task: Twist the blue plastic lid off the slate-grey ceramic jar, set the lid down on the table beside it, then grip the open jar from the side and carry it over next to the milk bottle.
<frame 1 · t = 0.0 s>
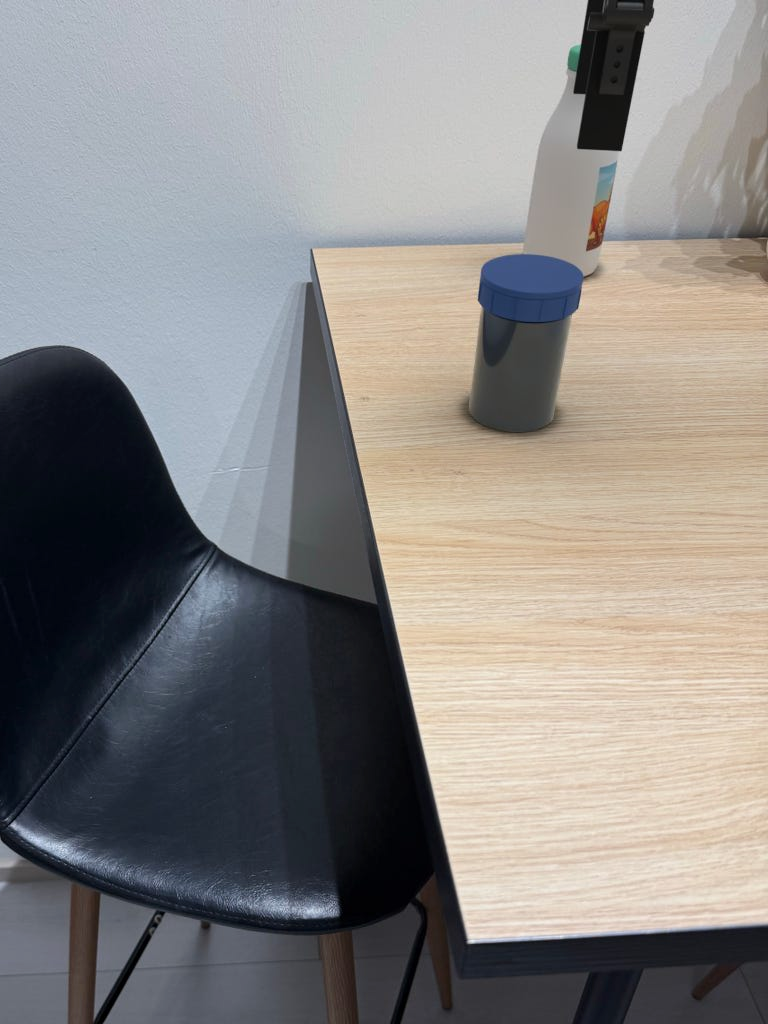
hand: (595, 119, 70), 22 cm above the table, tool pointing down, fingers open, 13 cm apart
jar: (510, 411, 84), on the table
lid: (531, 279, 77), point 11 cm above the table, screwed on, not yet turned
milk bottle: (558, 268, 107), on the table
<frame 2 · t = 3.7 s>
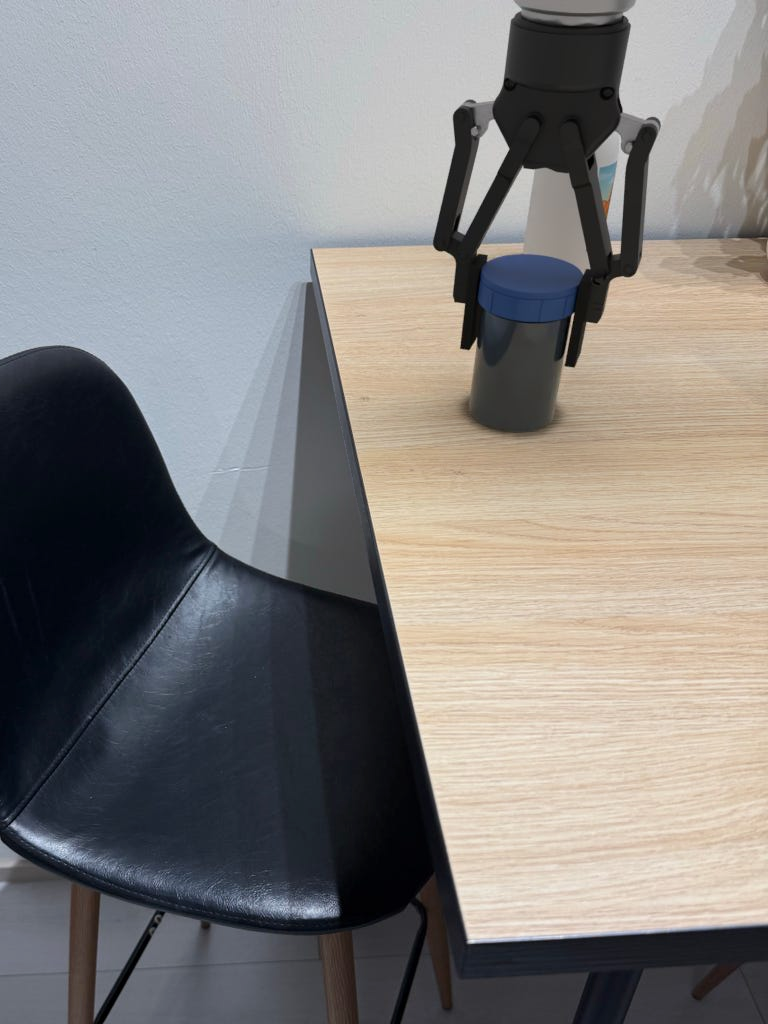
hand: (520, 350, 81), 5 cm above the table, tool pointing down, fingers closed on lid, 7 cm apart
lid: (531, 279, 77), point 11 cm above the table, screwed on, not yet turned, touching gripper
everything else where it was.
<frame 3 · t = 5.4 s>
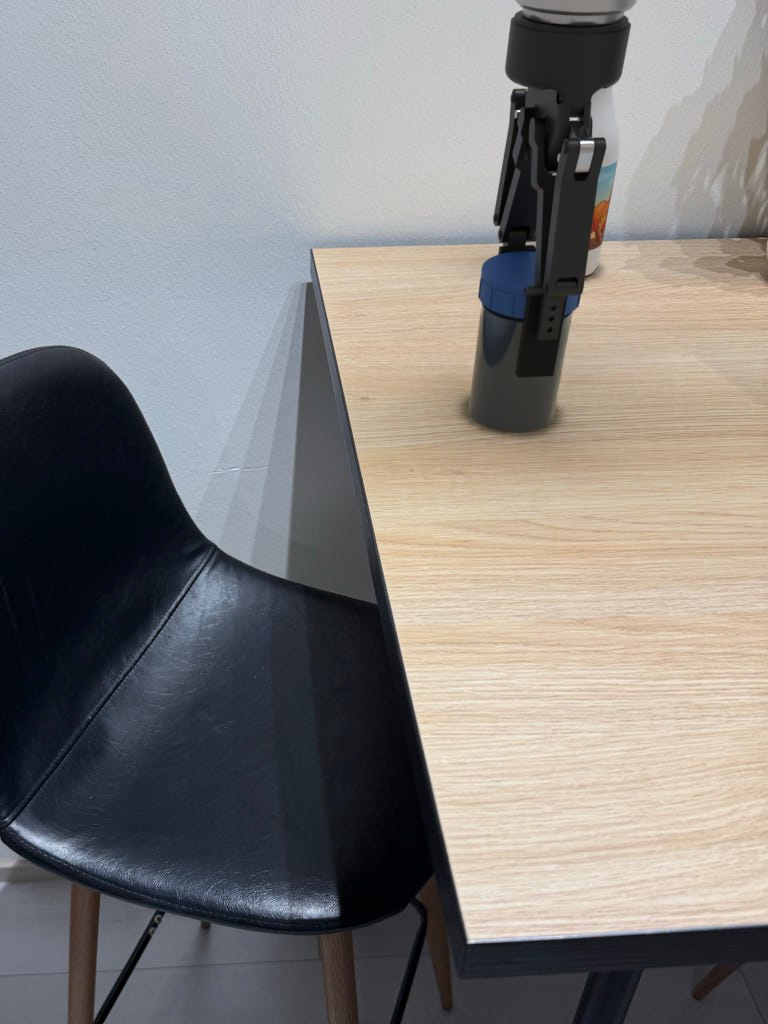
hand: (519, 350, 81), 5 cm above the table, tool pointing down, fingers closed on lid, 7 cm apart
lid: (531, 276, 77), point 11 cm above the table, off its thread, touching gripper
everything else where it was.
when the fingers open (0 cm above the table, at t = 14.0 s): lid drops 4 cm, point 2 cm above the table.
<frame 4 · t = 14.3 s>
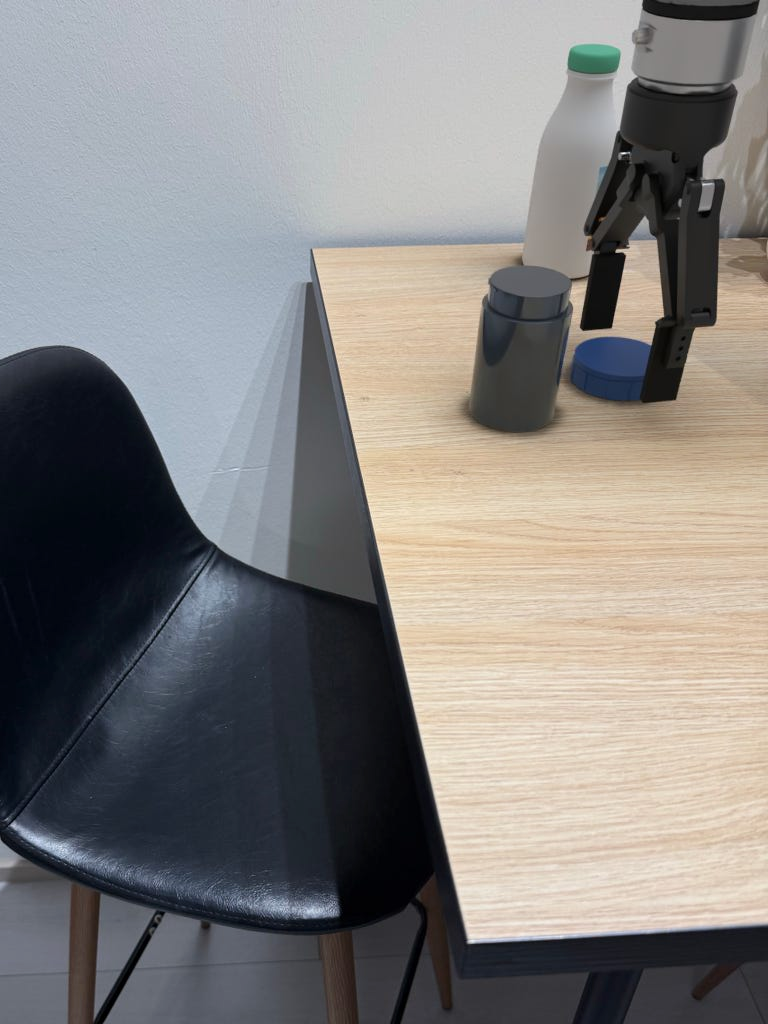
hand: (624, 362, 87), 2 cm above the table, tool pointing down, fingers open, 13 cm apart
lid: (619, 361, 87), point 2 cm above the table, off its thread
everything else where it was.
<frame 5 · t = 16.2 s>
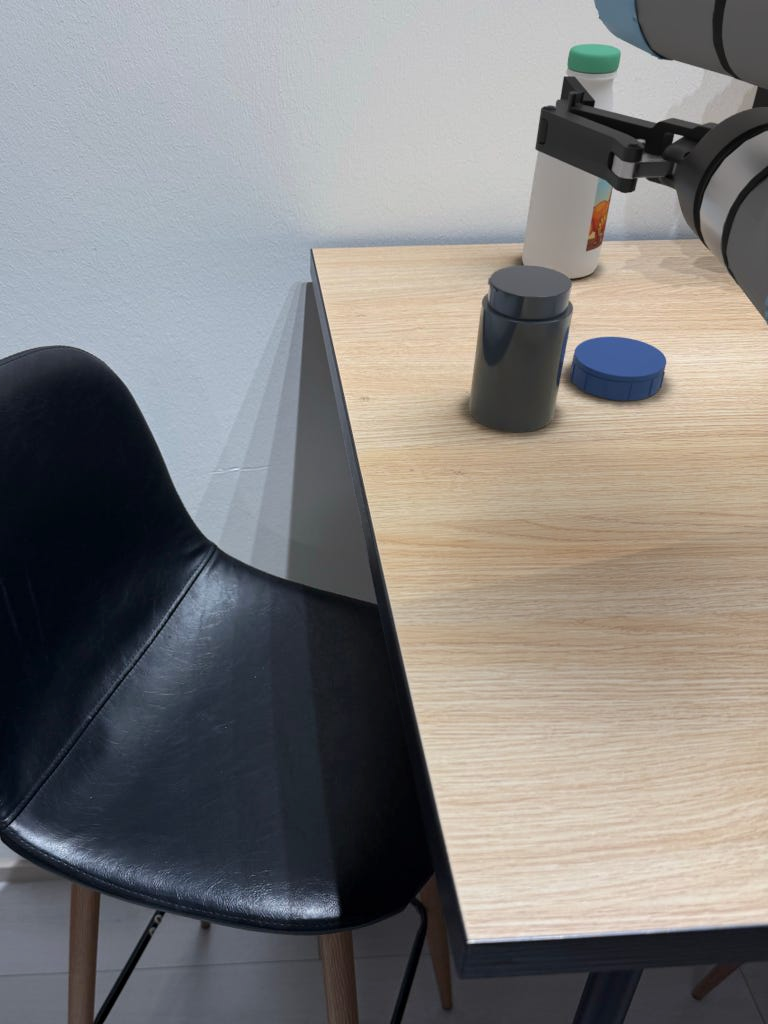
hand: (662, 97, 73), 22 cm above the table, tool horizontal, fingers open, 13 cm apart
nothing on the table moved.
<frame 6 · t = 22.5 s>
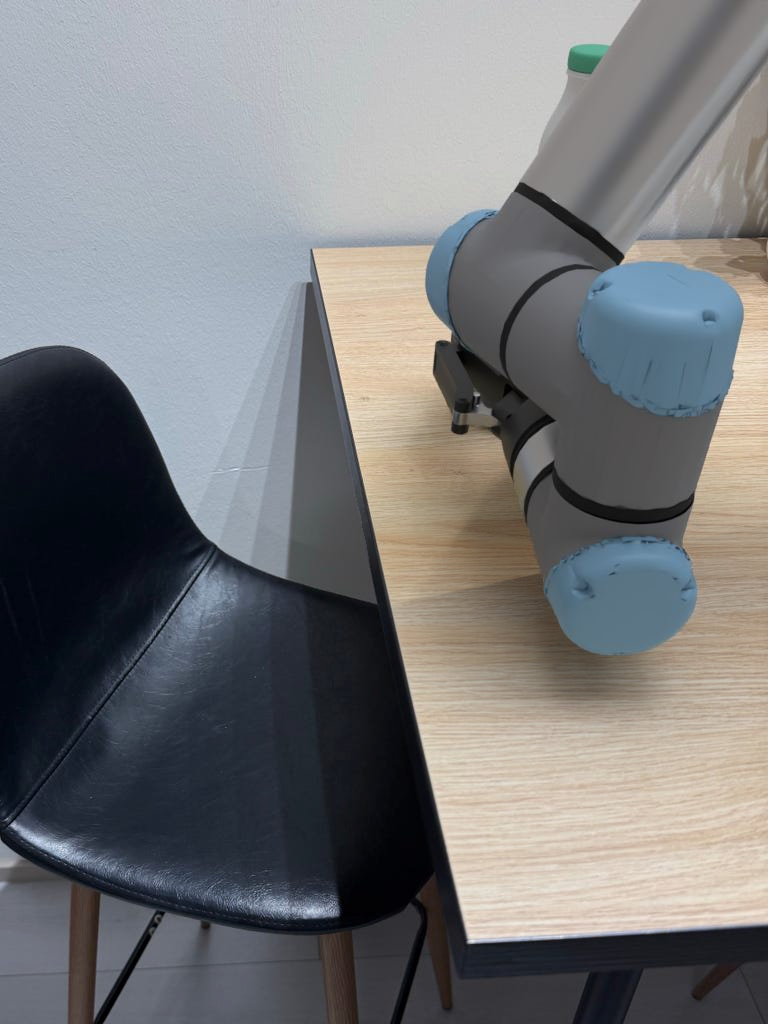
hand: (510, 314, 84), 6 cm above the table, tool horizontal, fingers closed on jar, 7 cm apart
jar: (510, 411, 84), on the table, touching gripper
everything else where it was.
when the fingers open (6 cm above the table, at t = 30.7 s): jar stays where it is, on the table.
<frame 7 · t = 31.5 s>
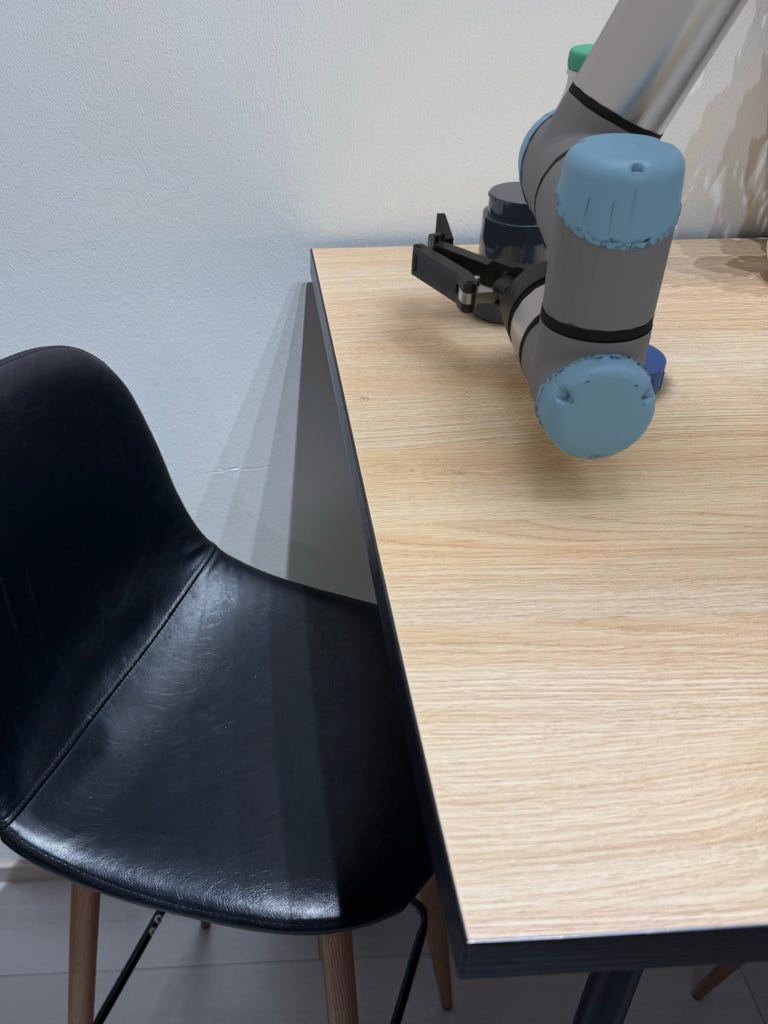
hand: (512, 227, 97), 7 cm above the table, tool horizontal, fingers open, 13 cm apart
jar: (507, 309, 99), on the table
everything else where it was.
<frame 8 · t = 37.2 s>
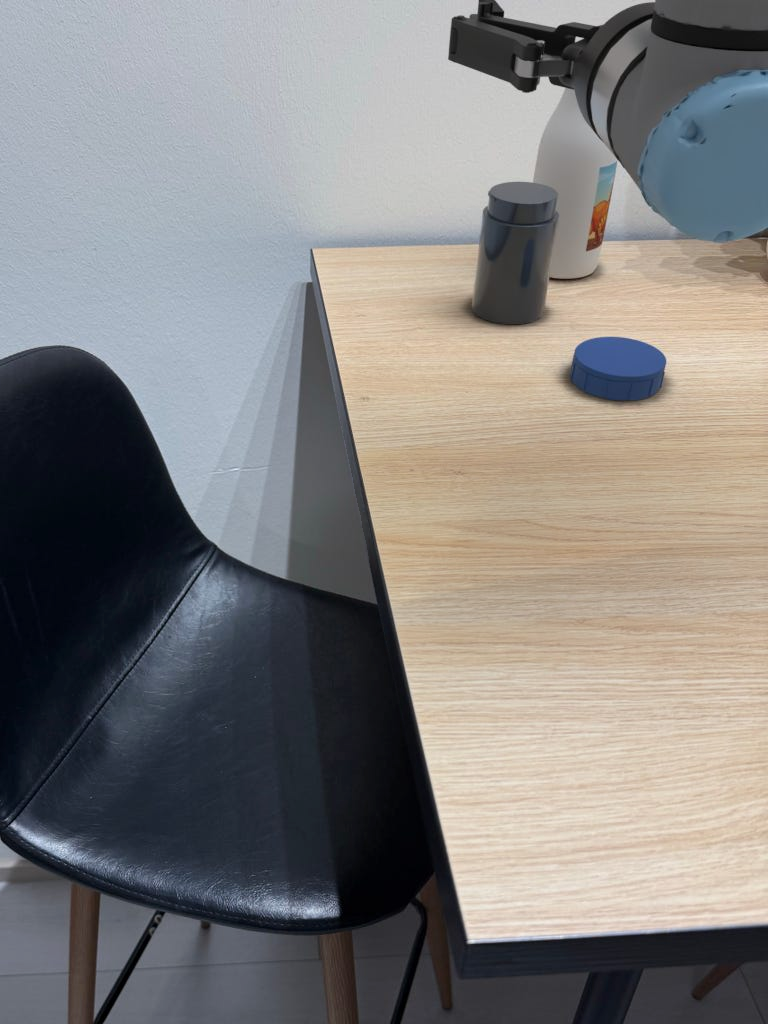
hand: (575, 14, 76), 26 cm above the table, tool horizontal, fingers open, 13 cm apart
nothing on the table moved.
at the end: lid point 1.7 cm above the table; the gripper is holding nothing; jar inside the target area on the table beside the milk bottle (0.0 cm from its centre), on the table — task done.
